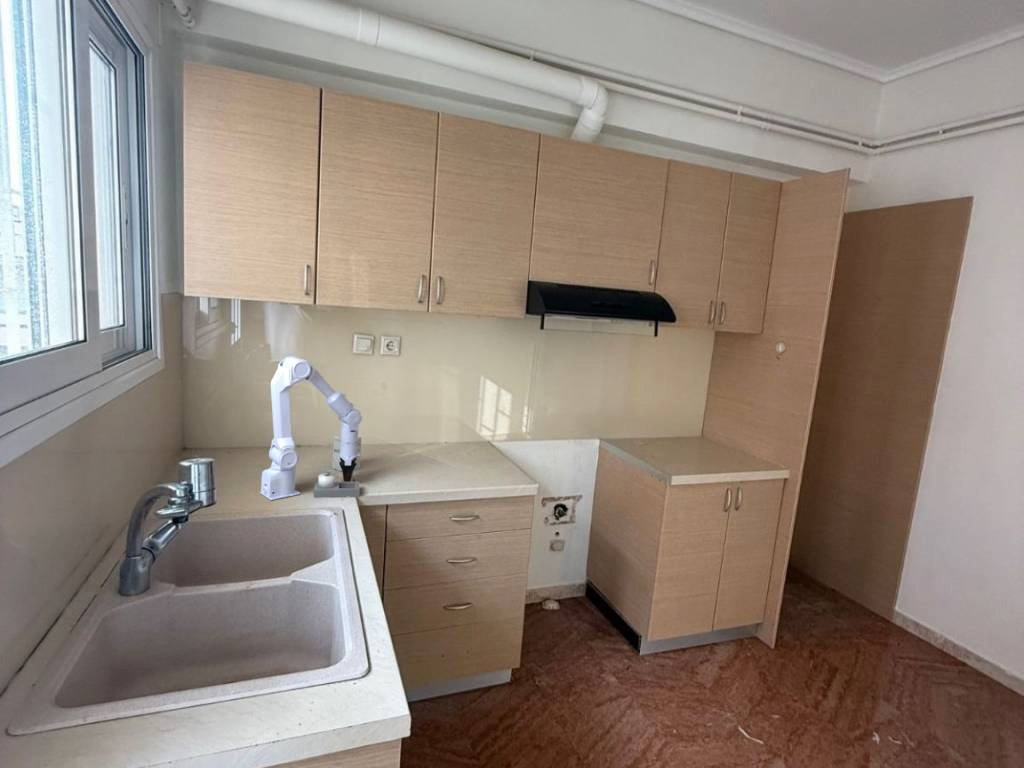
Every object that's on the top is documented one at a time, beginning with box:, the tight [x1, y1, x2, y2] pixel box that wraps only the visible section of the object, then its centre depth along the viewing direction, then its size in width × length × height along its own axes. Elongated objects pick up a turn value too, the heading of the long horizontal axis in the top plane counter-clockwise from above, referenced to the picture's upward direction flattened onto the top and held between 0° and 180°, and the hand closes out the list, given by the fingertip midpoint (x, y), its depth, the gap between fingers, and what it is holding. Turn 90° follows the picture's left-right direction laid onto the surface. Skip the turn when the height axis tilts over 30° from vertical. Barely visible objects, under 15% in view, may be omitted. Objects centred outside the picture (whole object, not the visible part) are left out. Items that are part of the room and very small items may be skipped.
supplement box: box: [331, 434, 362, 472], centre depth 196 cm, size 7×7×13 cm
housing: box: [313, 471, 360, 498], centre depth 170 cm, size 14×8×7 cm, turn 107°
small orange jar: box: [341, 472, 354, 482], centre depth 180 cm, size 4×4×6 cm
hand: (347, 479), depth 181 cm, fingers open, 4 cm apart
